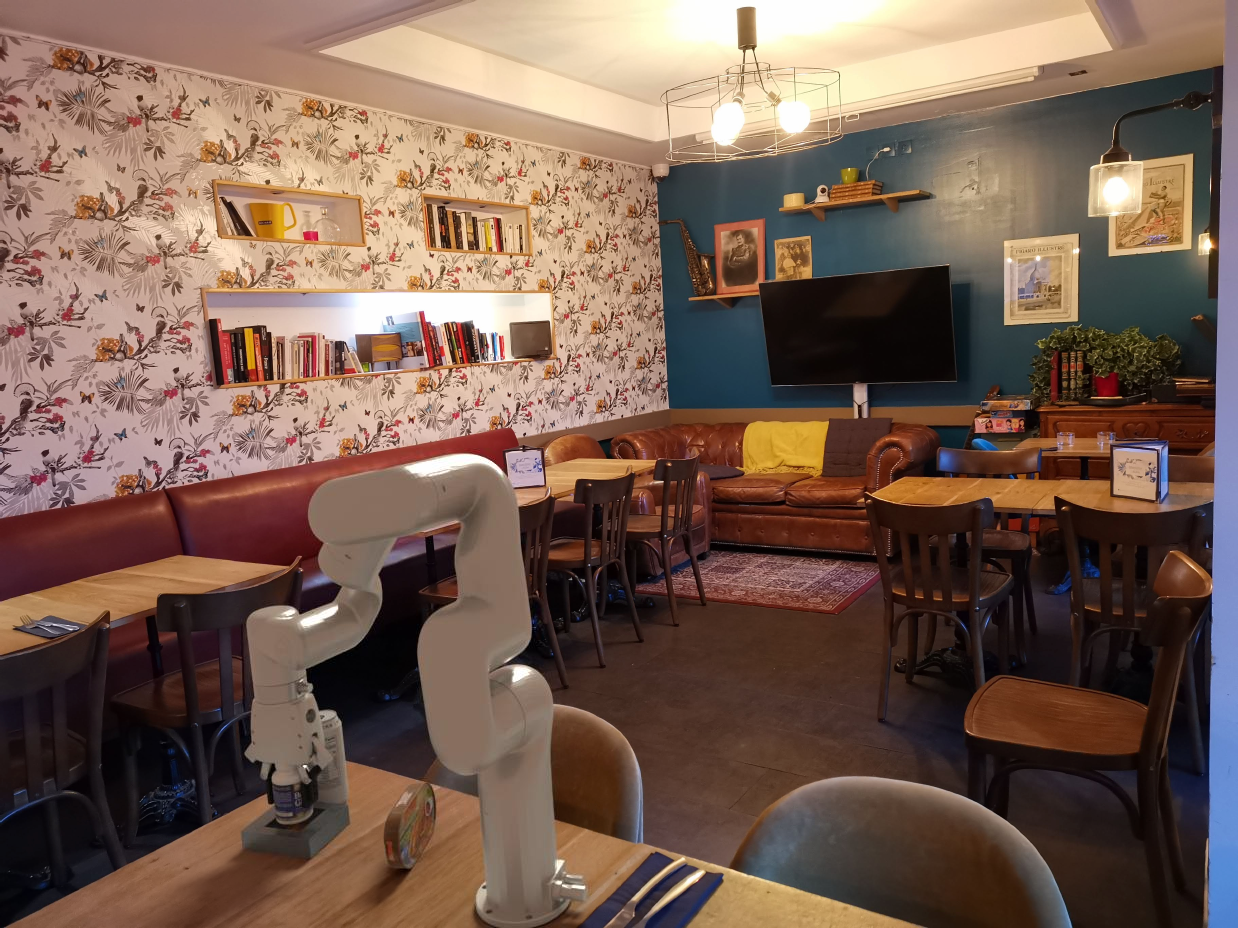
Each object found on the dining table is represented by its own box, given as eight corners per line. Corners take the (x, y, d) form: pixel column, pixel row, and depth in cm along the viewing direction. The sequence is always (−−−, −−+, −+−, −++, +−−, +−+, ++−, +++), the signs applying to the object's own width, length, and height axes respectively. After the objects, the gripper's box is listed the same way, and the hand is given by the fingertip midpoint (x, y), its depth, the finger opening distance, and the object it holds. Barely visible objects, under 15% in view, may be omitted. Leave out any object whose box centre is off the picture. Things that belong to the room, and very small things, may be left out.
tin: (405, 880, 124) (399, 824, 123) (383, 880, 124) (377, 823, 123) (439, 823, 139) (435, 772, 138) (420, 822, 139) (415, 772, 138)
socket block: (350, 822, 140) (348, 804, 140) (311, 858, 131) (309, 839, 130) (285, 815, 144) (283, 797, 143) (242, 849, 134) (240, 830, 134)
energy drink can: (355, 792, 150) (346, 707, 148) (340, 811, 144) (331, 723, 142) (320, 793, 150) (311, 708, 149) (305, 812, 145) (294, 723, 143)
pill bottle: (301, 826, 134) (294, 765, 132) (269, 824, 135) (262, 763, 134) (320, 808, 139) (313, 748, 138) (289, 806, 140) (282, 747, 139)
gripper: (344, 682, 135) (356, 795, 138) (250, 676, 140) (262, 785, 143) (314, 702, 128) (327, 820, 131) (216, 695, 133) (230, 808, 136)
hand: (293, 800), depth 137 cm, fingers closed on pill bottle, 5 cm apart
